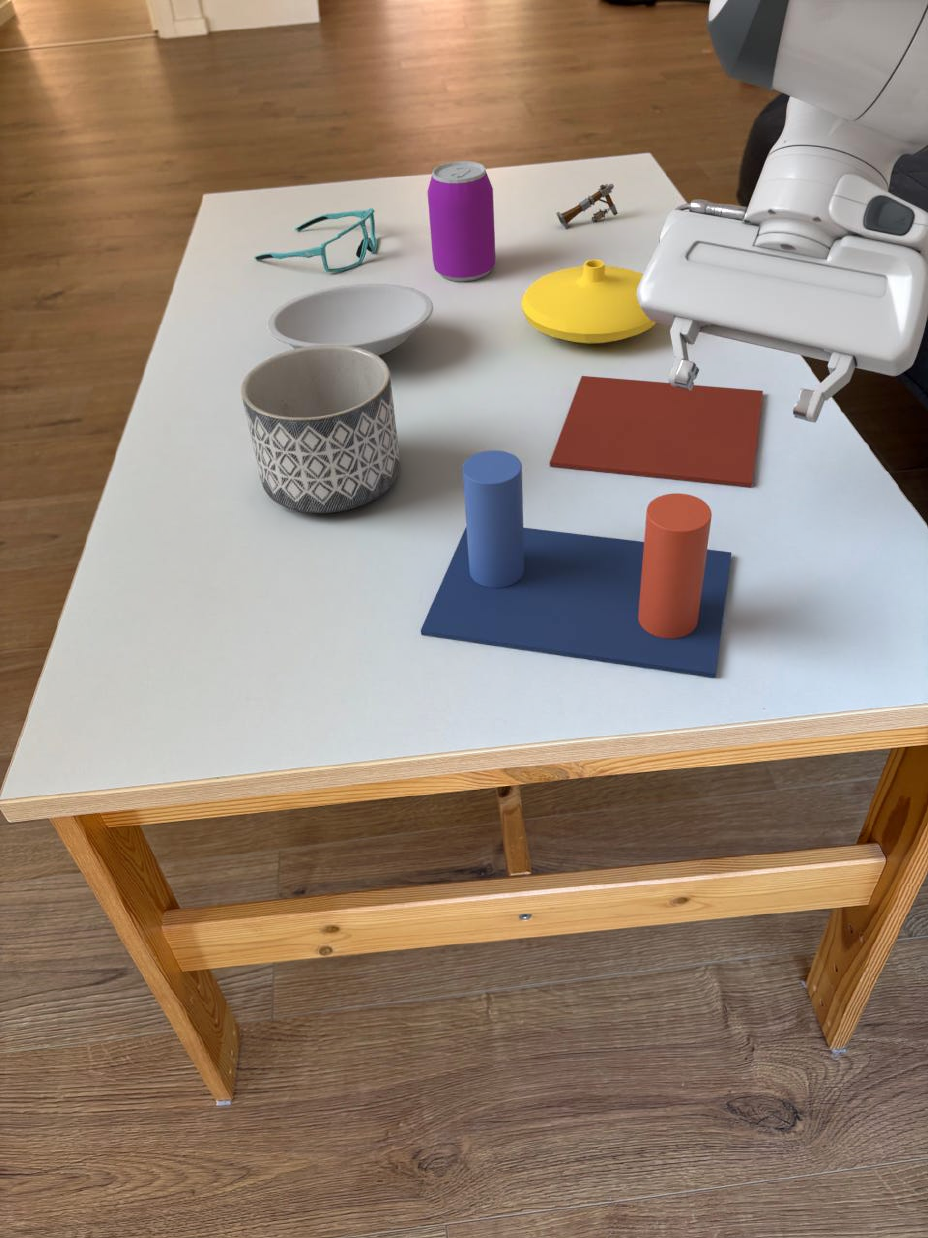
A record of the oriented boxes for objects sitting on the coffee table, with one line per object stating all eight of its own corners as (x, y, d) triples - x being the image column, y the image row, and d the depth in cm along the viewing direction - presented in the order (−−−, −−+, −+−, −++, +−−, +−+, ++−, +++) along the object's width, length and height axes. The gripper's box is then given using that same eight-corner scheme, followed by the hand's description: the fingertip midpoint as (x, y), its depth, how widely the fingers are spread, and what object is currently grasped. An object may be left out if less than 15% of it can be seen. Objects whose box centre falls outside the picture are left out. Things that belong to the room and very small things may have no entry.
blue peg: (529, 557, 83) (527, 453, 76) (517, 591, 80) (514, 486, 73) (477, 550, 84) (471, 447, 77) (463, 584, 81) (455, 480, 74)
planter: (396, 437, 99) (384, 337, 92) (407, 513, 89) (394, 409, 82) (265, 452, 98) (243, 352, 91) (262, 530, 89) (237, 427, 82)
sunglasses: (345, 281, 125) (336, 240, 122) (248, 277, 132) (237, 238, 129) (399, 237, 134) (392, 198, 131) (306, 235, 141) (297, 198, 138)
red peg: (700, 603, 78) (714, 496, 71) (694, 643, 75) (708, 534, 68) (642, 596, 79) (651, 489, 72) (634, 634, 76) (642, 526, 69)
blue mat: (730, 556, 82) (731, 551, 82) (715, 678, 73) (716, 673, 72) (468, 525, 88) (468, 520, 87) (420, 634, 78) (420, 630, 77)
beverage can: (483, 286, 122) (479, 184, 114) (424, 280, 124) (415, 179, 116) (504, 260, 127) (501, 160, 119) (447, 255, 130) (440, 156, 122)
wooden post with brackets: (625, 211, 134) (613, 181, 131) (572, 244, 135) (559, 215, 132) (620, 206, 136) (608, 176, 133) (568, 239, 137) (555, 211, 134)
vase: (626, 284, 121) (629, 224, 116) (690, 341, 109) (696, 278, 105) (501, 310, 117) (499, 250, 113) (553, 372, 106) (553, 308, 101)
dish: (426, 316, 117) (422, 274, 114) (446, 376, 107) (443, 332, 103) (272, 337, 116) (264, 295, 112) (278, 400, 105) (269, 356, 102)
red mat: (762, 394, 101) (763, 390, 100) (751, 487, 89) (752, 482, 89) (581, 379, 105) (581, 375, 104) (549, 466, 93) (549, 461, 93)
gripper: (664, 174, 74) (597, 354, 75) (958, 221, 65) (878, 425, 66) (685, 214, 80) (622, 381, 81) (957, 262, 71) (883, 449, 72)
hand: (739, 401), depth 73 cm, fingers open, 8 cm apart
